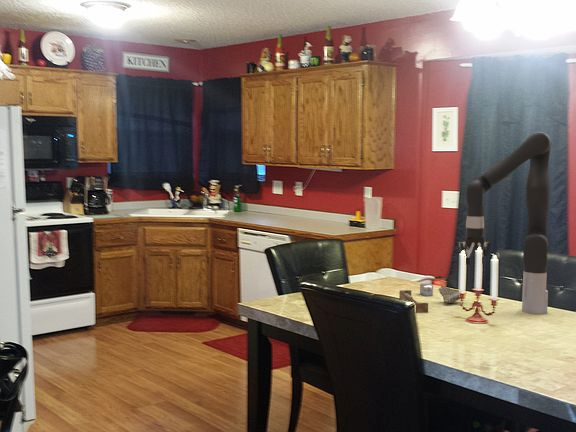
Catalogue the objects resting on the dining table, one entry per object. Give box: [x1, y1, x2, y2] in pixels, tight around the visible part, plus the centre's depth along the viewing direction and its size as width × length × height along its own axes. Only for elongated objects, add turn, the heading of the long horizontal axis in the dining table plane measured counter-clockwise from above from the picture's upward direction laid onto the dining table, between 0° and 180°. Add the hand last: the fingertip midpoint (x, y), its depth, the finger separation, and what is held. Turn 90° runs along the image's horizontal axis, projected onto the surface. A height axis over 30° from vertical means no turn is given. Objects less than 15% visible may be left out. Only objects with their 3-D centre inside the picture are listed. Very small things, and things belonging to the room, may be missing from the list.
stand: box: [398, 289, 429, 314], centre depth 291 cm, size 5×27×5 cm, turn 5°
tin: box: [419, 283, 434, 298], centre depth 313 cm, size 6×6×5 cm
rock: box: [437, 284, 461, 304], centre depth 296 cm, size 11×6×10 cm
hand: (473, 265), depth 292 cm, fingers open, 4 cm apart
